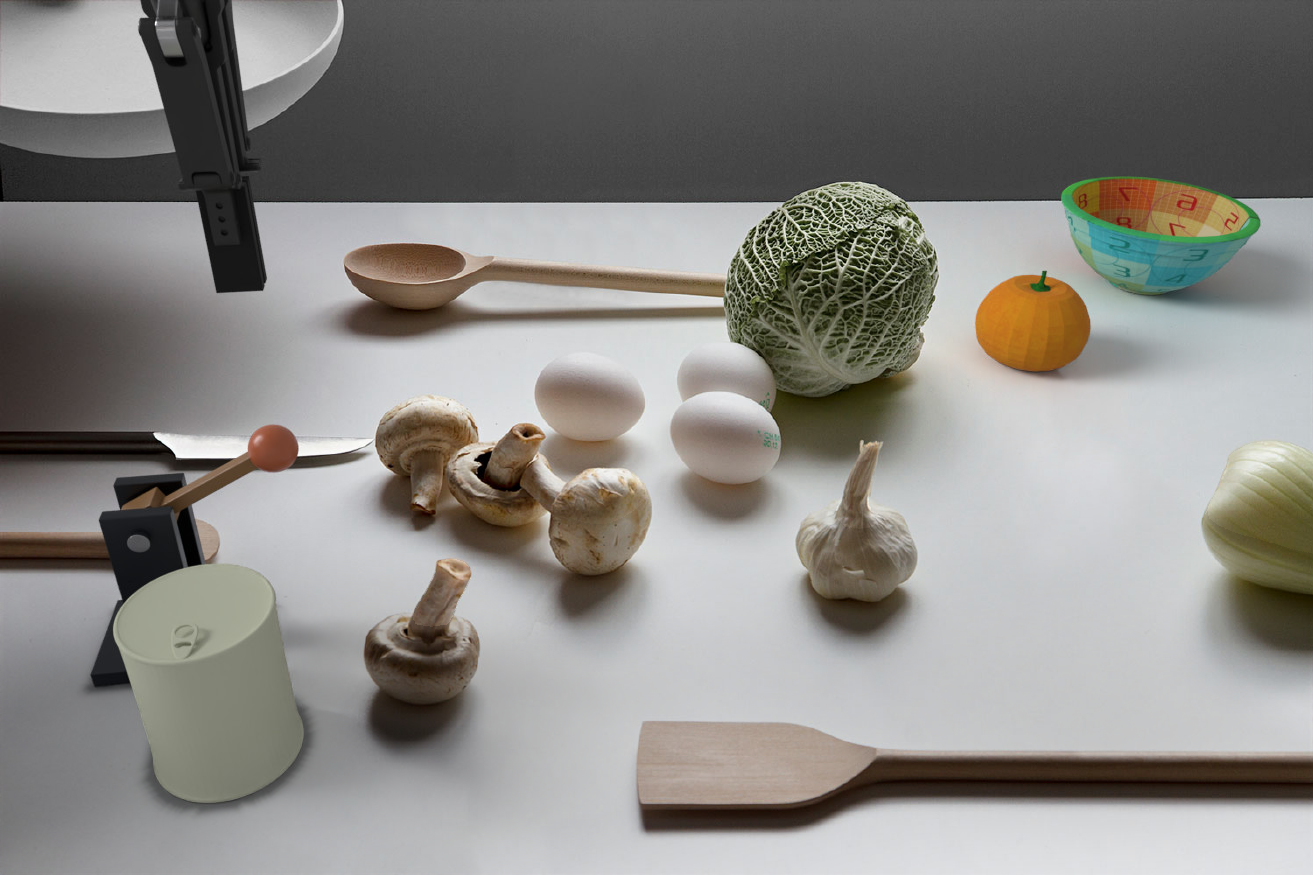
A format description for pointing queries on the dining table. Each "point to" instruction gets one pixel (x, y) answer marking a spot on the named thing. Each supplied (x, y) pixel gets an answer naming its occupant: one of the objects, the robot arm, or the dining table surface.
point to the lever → (230, 470)
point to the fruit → (1033, 323)
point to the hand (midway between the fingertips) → (242, 285)
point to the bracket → (143, 554)
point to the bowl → (1155, 231)
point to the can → (211, 681)
